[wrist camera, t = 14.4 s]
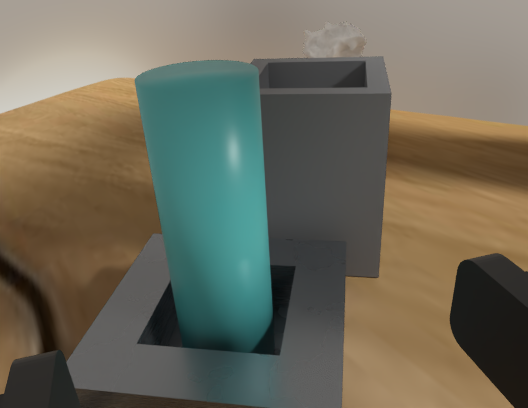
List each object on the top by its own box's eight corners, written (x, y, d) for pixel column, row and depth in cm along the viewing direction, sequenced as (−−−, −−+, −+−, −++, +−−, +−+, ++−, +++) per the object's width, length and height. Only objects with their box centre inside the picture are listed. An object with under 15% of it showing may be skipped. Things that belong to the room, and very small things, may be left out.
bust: (385, 186, 40) (435, 60, 40) (344, 158, 34) (404, 10, 35) (276, 154, 48) (319, 47, 48) (228, 126, 42) (277, 4, 42)
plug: (198, 313, 24) (160, 61, 18) (280, 318, 23) (267, 59, 17) (171, 378, 20) (113, 91, 14) (267, 386, 20) (245, 90, 14)
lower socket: (161, 279, 27) (153, 233, 26) (345, 290, 25) (346, 241, 24) (71, 441, 18) (50, 385, 17) (339, 474, 17) (341, 415, 15)
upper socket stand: (263, 206, 34) (254, 59, 29) (373, 209, 33) (383, 56, 28) (241, 270, 27) (225, 94, 23) (378, 277, 26) (391, 93, 21)
